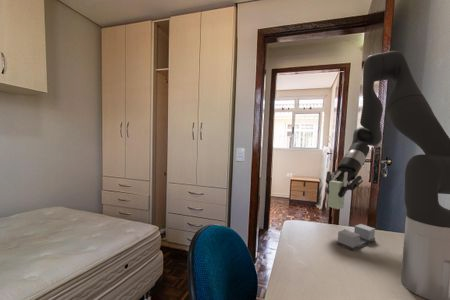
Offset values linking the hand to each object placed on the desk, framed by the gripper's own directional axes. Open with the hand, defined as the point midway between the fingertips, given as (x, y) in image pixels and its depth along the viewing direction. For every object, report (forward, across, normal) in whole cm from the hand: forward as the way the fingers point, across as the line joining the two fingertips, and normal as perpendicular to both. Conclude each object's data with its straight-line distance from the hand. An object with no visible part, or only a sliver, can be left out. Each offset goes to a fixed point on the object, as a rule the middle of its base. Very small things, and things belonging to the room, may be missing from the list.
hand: (333, 194), depth 84 cm
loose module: (+2, 0, +5) cm, 5 cm away
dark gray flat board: (+10, +8, +12) cm, 18 cm away
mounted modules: (+10, +8, +12) cm, 18 cm away
